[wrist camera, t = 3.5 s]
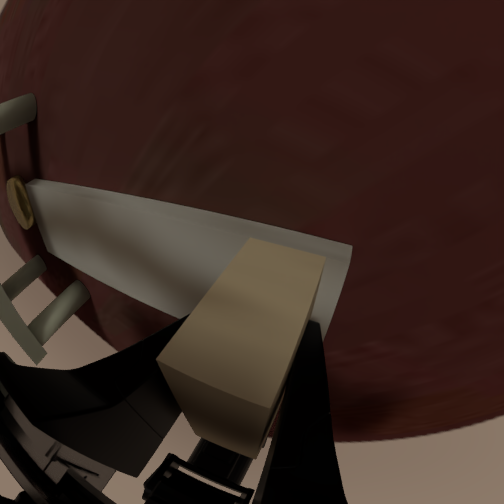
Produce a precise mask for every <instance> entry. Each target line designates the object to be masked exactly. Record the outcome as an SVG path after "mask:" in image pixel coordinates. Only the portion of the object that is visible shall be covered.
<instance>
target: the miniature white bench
mask: <svg viewBox="0 0 504 504" xmlns="http://www.w3.org/2000/svg"><path fill="white" fill-rule="evenodd" d="M36 112H37V105H36V99H35V96H34V94H33V93H29V94H26V95H23V96H20V97H17V98H15V99H12V100H9V101H7V102H4V103H2V104H0V135H1V134H3V133H5V132H7V131H9V130H11V129H14V128H16V127H18V126H21V125H23V124H25V123H28V122H30V121H33V120H34V119H35V117H36ZM46 270H47V268H46V265H45V263H44V261H43V260H42V258H41V257H40V256H39V255H36V256H35V257H34V258H32V259H31V260H30V261H29V262H27V263H26V264H25V265H24V266H23V267H22V268H20V269H19V270H18V271H17V272H16V273H15V274H13V275H12V276H11V277H10V278H9V279H8V280H7V281H5V282H4V283H3V284H2V285H1V284H0V320H1V321H2V323H3V324H4V325H5V327H6V328H7V329H8V331H9V332H10V333H11V335H12V336H13V337H14V339H15V340H16V341H17V342H18V344H19V345H20V346H21V347H22V349H23V350H24V351H25V352H26V354H27V355H28V356H29V357H30V358H31V359H32V361H33V362H34V363H35V364H36V365H37V364H38V363H39V362H40V361H41V360H42V358H44V357H45V355H46V354H47V352H46V351H45V350H44V348H43V347H42V346H43V345H44V344H45V343H46V342H47V341H48V340H49V338H50V337H51V336H52V335H53V334H54V333H55V332H56V331H57V330H58V329H59V328H60V327H61V326H62V325H63V324H64V323H65V322H66V321H67V320H68V319H69V318H70V317H71V316H72V315H73V314H74V313H75V312H76V311H77V310H78V309H79V308H80V307H81V306H82V305H83V304H84V303H85V302H86V301H87V300H88V299H89V298H90V294H89V292H88V290H87V288H86V287H85V286H84V285H83V283H82V282H80V281H79V280H75V281H74V282H73V283H72V284H71V285H70V286H69V287H68V288H66V289H65V290H64V291H63V292H62V293H61V294H60V295H59V296H58V297H57V298H56V299H55V300H54V301H52V302H51V303H50V304H49V305H48V306H47V307H46V308H45V309H44V310H43V311H42V312H41V313H40V314H39V315H38V316H37V317H36V318H35V319H34V320H33V321H32V322H31V323H30V324H29V325H28V326H27V325H26V324H25V323H24V321H23V320H22V318H21V317H20V315H19V314H18V312H17V311H16V309H15V307H14V306H13V304H12V303H11V301H12V300H13V299H14V298H15V297H16V296H18V295H19V294H20V293H21V292H22V291H23V290H24V289H25V288H26V287H27V286H29V284H31V283H32V282H33V281H34V280H35V279H36V278H38V277H39V276H40V275H41V274H42V273H43V272H45V271H46Z"/></svg>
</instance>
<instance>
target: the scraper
mask: <svg viewBox="0 0 504 504" xmlns="http://www.w3.org/2000/svg"><path fill="white" fill-rule="evenodd" d="M25 186H26V189H27V193H28V196H29V200H30V203H31V206H32V209H33V213H34V216H35V219H36V222H37V224H38V227H39V230H40V233H41V235H42V238H43V241H44V243H45V246H46V248H47V251H48V252H50V253H51V254H53V255H55V256H56V257H58V258H60V259H62V260H63V261H65V262H67V263H68V264H70V265H72V266H74V267H75V268H77V269H79V270H81V271H83V272H84V273H86V274H88V275H90V276H92V277H94V278H95V279H97V280H99V281H101V282H103V283H105V284H107V285H109V286H111V287H113V288H115V289H117V290H119V291H121V292H123V293H125V294H127V295H129V296H131V297H133V298H135V299H137V300H139V301H141V302H143V303H146V304H148V305H150V306H152V307H154V308H156V309H159V310H161V311H163V312H165V313H167V314H170V315H172V316H174V317H177V318H179V319H181V318H183V317H184V316H186V315H188V314H190V313H191V312H192V313H191V314H190V315H189V317H188V318H187V319H186V320H185V322H184V323H183V324H182V326H181V327H180V328H179V330H178V331H177V332H176V333H175V335H174V336H173V337H172V339H171V340H170V341H169V343H168V344H167V345H166V347H165V348H164V349H163V351H162V352H161V353H160V354H159V356H158V357H157V358H156V361H157V363H158V365H159V367H160V369H161V371H162V373H163V375H164V377H165V379H166V381H167V383H168V385H169V387H170V389H171V391H172V393H173V395H174V397H175V399H176V401H177V403H178V404H179V406H180V408H181V410H182V412H183V413H184V415H185V417H186V419H187V421H188V422H189V424H190V426H191V427H192V429H193V431H194V432H195V434H196V435H197V436H200V437H202V438H204V439H206V440H208V441H210V442H213V443H215V444H217V445H220V446H222V447H224V448H227V449H229V450H232V451H234V452H237V453H239V454H242V455H244V456H247V457H250V458H253V459H256V458H257V456H258V454H259V452H260V450H261V448H262V446H263V444H264V441H265V439H266V437H267V435H268V433H269V430H270V428H271V426H272V424H273V421H274V419H275V417H276V414H277V412H278V410H279V407H280V405H281V402H282V400H283V397H284V393H285V389H286V384H287V381H288V378H289V375H290V371H291V368H292V365H293V361H294V358H295V355H296V352H297V349H298V347H299V344H300V341H301V339H302V336H303V334H304V331H305V328H306V325H307V323H308V320H313V321H316V322H319V323H320V327H321V334H322V341H323V340H324V337H325V335H326V332H327V329H328V327H329V324H330V321H331V318H332V316H333V313H334V310H335V307H336V304H337V301H338V298H339V295H340V292H341V289H342V286H343V283H344V280H345V277H346V274H347V270H348V267H349V264H350V259H351V253H352V247H353V246H350V245H347V244H343V243H339V242H335V241H331V240H327V239H324V238H320V237H316V236H312V235H308V234H304V233H300V232H296V231H292V230H288V229H283V228H279V227H275V226H271V225H267V224H263V223H258V222H254V221H250V220H245V219H241V218H237V217H232V216H228V215H223V214H219V213H214V212H210V211H205V210H201V209H196V208H191V207H187V206H182V205H177V204H172V203H167V202H162V201H157V200H153V199H147V198H142V197H137V196H132V195H127V194H122V193H116V192H111V191H106V190H100V189H95V188H89V187H83V186H77V185H72V184H66V183H60V182H53V181H47V180H41V179H34V180H32V181H30V182H28V183H27V184H25Z"/></svg>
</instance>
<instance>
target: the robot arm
mask: <svg viewBox="0 0 504 504" xmlns="http://www.w3.org/2000/svg"><path fill="white" fill-rule="evenodd" d="M191 313H192V312H191ZM191 313H190V314H191ZM190 314H188V315H186V316H184V317H183V318H181V319H179V320H177V321H175V322H174V323H172V324H170V325H168V326H166V327H165V328H163V329H161V330H159V331H157V332H156V333H154V334H152V335H150V336H148V337H147V338H145V339H144V340H141V341H139V342H137V343H135V344H134V345H132V346H130V347H128V348H126V349H124V350H122V351H120V352H117V353H115V354H113V355H111V356H108V357H106V358H103V359H101V360H98V361H96V362H93V363H90V364H88V365H86V366H83V367H80V368H76V369H71V370H57V369H56V370H55V369H45V368H36V367H27V366H21V365H17V364H15V362H13V360H12V359H11V358H10V357H9V356H8V355H7V354H6V353H5V352H0V459H1V460H2V462H3V463H4V465H5V466H6V467H7V469H8V470H9V471H10V473H11V474H12V475H13V477H14V478H15V479H16V481H17V482H18V483H19V484H20V486H21V487H22V488H23V489H24V491H22V492H20V493H19V494H18V496H17V497H16V499H15V500H12V499H9V498H6V497H2V496H1V495H0V504H116V503H115V502H113V501H112V500H111V499H109V498H108V497H107V496H105V495H104V494H103V493H102V490H103V489H104V487H105V486H106V484H107V483H108V481H109V480H110V479H111V477H112V476H113V474H114V473H115V472H116V470H117V471H120V472H122V473H125V474H127V475H130V476H133V477H136V478H137V477H138V476H139V474H140V473H141V471H142V470H143V469H144V467H145V466H146V464H147V463H148V461H149V460H150V458H151V457H152V456H153V454H154V453H155V451H156V450H157V448H158V447H159V445H160V444H161V442H162V441H163V439H164V438H165V436H166V435H167V433H168V432H169V430H170V429H171V427H172V425H173V424H174V423H175V421H176V420H177V418H178V416H179V415H180V413H181V412H182V410H181V408H180V406H179V404H178V403H177V401H176V399H175V397H174V395H173V393H172V391H171V389H170V387H169V385H168V383H167V381H166V379H165V377H164V375H163V373H162V371H161V369H160V367H159V365H158V363H157V361H156V358H157V357H158V356H159V354H160V353H161V352H162V351H163V349H164V348H165V347H166V345H167V344H168V343H169V341H170V340H171V339H172V337H173V336H174V335H175V333H176V332H177V331H178V330H179V328H180V327H181V326H182V324H183V323H184V322H185V320H186V319H187V318H188V317H189V315H190ZM268 434H269V433H268ZM267 437H268V435H267ZM267 437H266V439H265V441H264V444H263V446H262V448H264V446H265V443H266V440H267ZM252 460H253V458H250V457H247V456H244V455H242V454H239V453H237V452H234V451H232V450H229V449H227V448H224V447H222V446H220V445H217V444H215V443H213V442H210V441H208V440H206V439H204V438H202V437H201V439H200V441H199V443H198V444H197V446H196V447H195V449H194V451H193V453H192V454H191V456H190V458H189V459H188V461H187V462H185V461H184V460H182V459H180V458H178V457H177V456H176V455H174V454H171V453H168V455H167V456H166V458H165V459H164V461H163V463H162V464H161V465H160V466H159V467H158V468H157V469H156V471H155V472H154V473H153V474H152V475H151V476H150V477H149V478H148V479H147V480H146V481H145V482H144V488H145V490H144V493H143V496H142V499H143V500H145V501H146V502H145V503H144V504H249V502H250V500H251V497H252V495H253V493H254V491H255V490H253V489H251V488H245V487H242V486H240V484H241V482H242V480H243V478H244V476H245V474H246V472H247V470H248V468H249V466H250V464H251V462H252ZM179 466H181V467H183V468H184V469H186V470H188V471H190V472H193V473H194V474H197V475H199V476H201V477H203V478H205V479H208V480H209V481H212V482H214V483H216V484H219V485H221V486H224V487H226V488H229V489H231V490H234V491H236V492H239V493H242V494H241V496H240V497H238V496H236V495H233V494H230V493H228V492H225V491H223V490H220V489H218V488H215V487H213V486H211V485H209V484H206V483H204V482H202V481H200V480H197V479H195V478H194V477H191V476H189V475H187V474H185V473H183V472H181V471H180V470H178V468H179ZM252 504H348V503H347V500H346V497H345V494H344V490H343V486H342V480H341V476H340V470H339V466H338V461H337V456H336V451H335V445H334V440H333V431H332V422H331V414H330V401H329V391H328V382H327V373H326V365H325V356H324V349H323V341H322V334H321V327H320V323H319V322H316V321H313V320H308V323H307V325H306V328H305V331H304V334H303V336H302V339H301V341H300V344H299V347H298V349H297V352H296V355H295V358H294V361H293V365H292V368H291V371H290V375H289V378H288V381H287V384H286V389H285V393H284V397H283V401H282V404H281V408H280V412H279V416H278V420H277V423H276V427H275V431H274V434H273V438H272V441H271V445H270V448H269V452H268V455H267V458H266V462H265V465H264V468H263V471H262V474H261V478H260V481H259V484H258V487H257V490H256V493H255V496H254V499H253V502H252Z"/></svg>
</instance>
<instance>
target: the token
mask: <svg viewBox="0 0 504 504" xmlns="http://www.w3.org/2000/svg"><path fill="white" fill-rule="evenodd" d="M25 184H26V182H25V181H24V179H23V178H22V177H21V176H20V175H16V176H14V177H12V178H11V179H9V180H8V181H7V195H8V200H9V203H10V206H11V209H12V211H13V213H14V215H15V217H16V219H17V221H18V222H19V224H20V225H21V226H22V227H23V228H24V229H26V230H27V229H29V228H30V227H32V226H33V225H34V224H36V223H37V222H36V219H35V216H34V213H33V209H32V206H31V203H30V200H29V196H28V193H27V189H26V186H25Z"/></svg>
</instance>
